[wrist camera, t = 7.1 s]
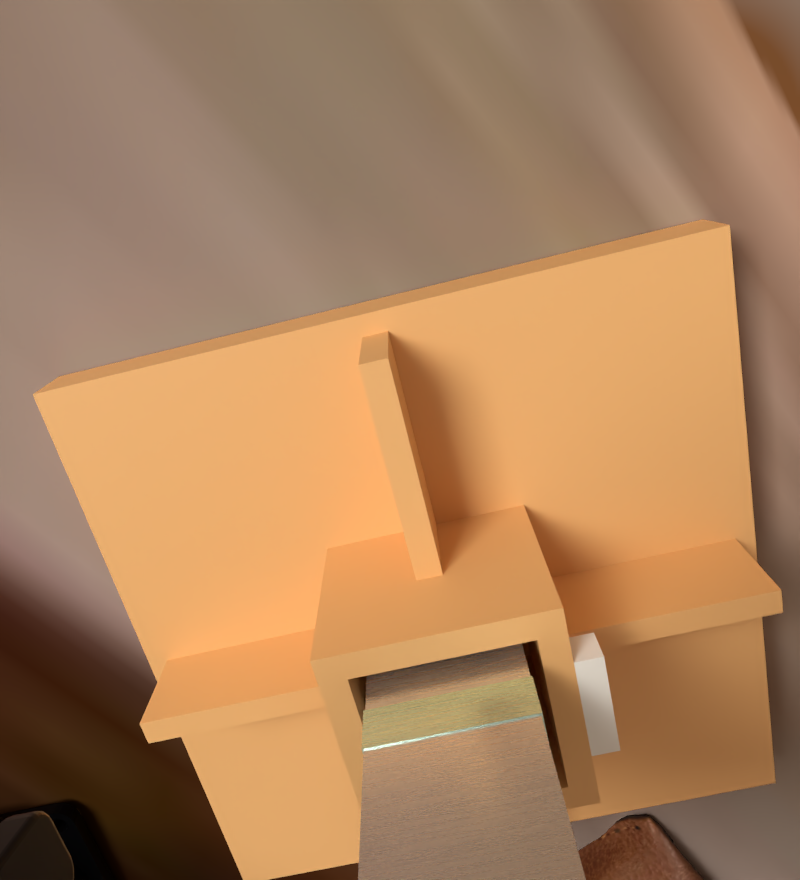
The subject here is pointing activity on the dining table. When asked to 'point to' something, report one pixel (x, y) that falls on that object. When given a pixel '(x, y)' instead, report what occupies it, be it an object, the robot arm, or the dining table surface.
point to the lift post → (461, 775)
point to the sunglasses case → (635, 854)
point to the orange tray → (442, 531)
